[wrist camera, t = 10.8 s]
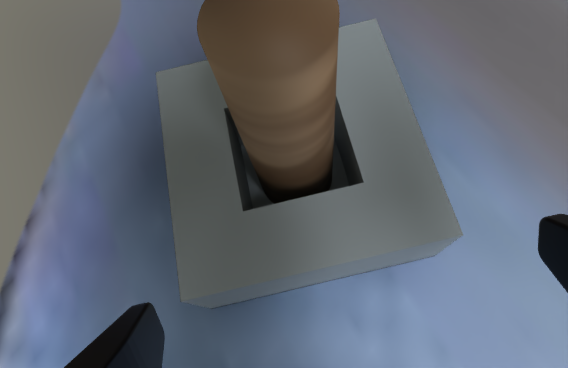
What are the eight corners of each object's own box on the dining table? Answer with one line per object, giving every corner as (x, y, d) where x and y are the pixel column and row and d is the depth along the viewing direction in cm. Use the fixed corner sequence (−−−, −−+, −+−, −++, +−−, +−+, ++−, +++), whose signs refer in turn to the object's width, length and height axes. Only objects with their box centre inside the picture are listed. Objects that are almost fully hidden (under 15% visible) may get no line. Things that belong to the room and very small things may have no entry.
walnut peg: (315, 221, 23) (303, 95, 11) (249, 194, 24) (171, 51, 12) (343, 158, 24) (361, -18, 12) (279, 135, 25) (236, -49, 13)
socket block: (434, 256, 22) (463, 234, 17) (211, 308, 22) (180, 301, 17) (367, 73, 27) (375, 18, 22) (185, 117, 27) (155, 72, 22)
